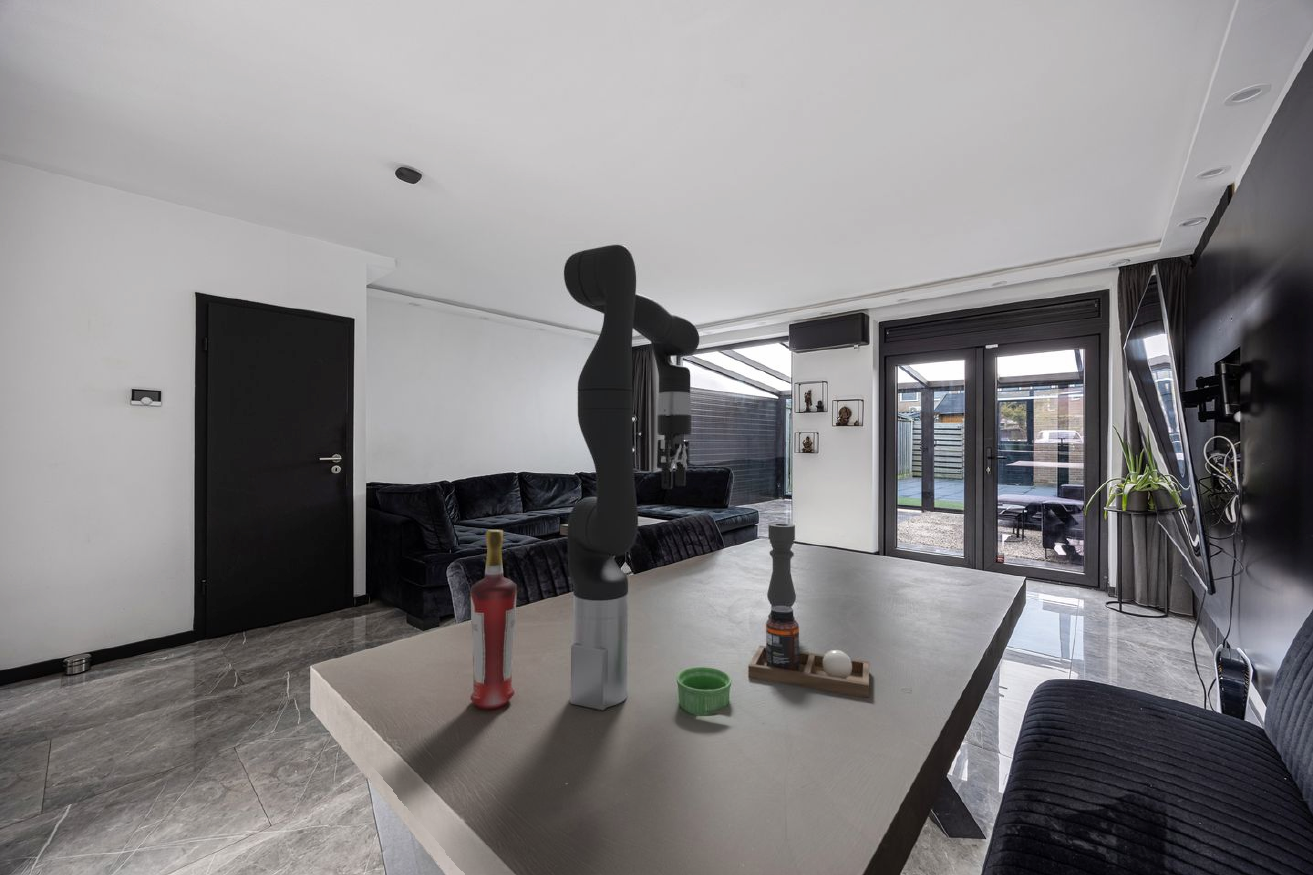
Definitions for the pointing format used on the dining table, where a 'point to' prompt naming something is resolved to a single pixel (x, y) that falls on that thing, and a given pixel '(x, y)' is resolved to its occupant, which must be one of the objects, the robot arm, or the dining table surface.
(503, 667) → the liquor
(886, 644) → the dining table surface
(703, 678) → the ramekin
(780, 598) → the grey turned candlestick
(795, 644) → the supplement bottle
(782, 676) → the holder
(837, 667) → the egg
